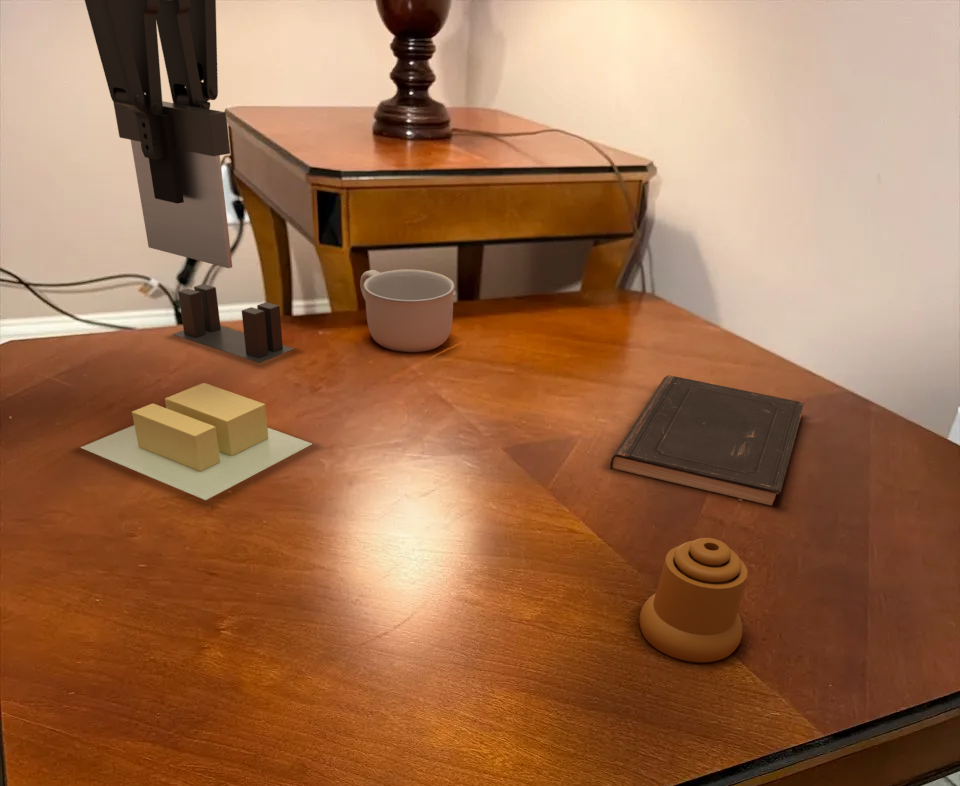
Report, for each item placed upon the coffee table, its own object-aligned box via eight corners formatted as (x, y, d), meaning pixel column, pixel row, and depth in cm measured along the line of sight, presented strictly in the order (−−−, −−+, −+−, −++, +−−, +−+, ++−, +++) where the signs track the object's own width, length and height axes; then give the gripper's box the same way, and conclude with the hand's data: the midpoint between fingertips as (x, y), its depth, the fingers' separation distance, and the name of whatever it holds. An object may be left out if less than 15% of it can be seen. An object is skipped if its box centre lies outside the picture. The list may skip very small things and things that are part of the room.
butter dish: (81, 457, 81) (79, 447, 80) (194, 409, 90) (193, 400, 90) (207, 510, 75) (205, 499, 74) (313, 452, 84) (312, 443, 84)
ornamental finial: (705, 684, 60) (617, 636, 64) (755, 638, 65) (670, 596, 69) (733, 590, 56) (636, 544, 59) (785, 548, 60) (692, 508, 64)
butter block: (170, 432, 84) (164, 398, 81) (208, 416, 87) (203, 382, 85) (231, 456, 81) (227, 421, 78) (268, 438, 84) (265, 403, 82)
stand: (173, 342, 105) (165, 291, 101) (210, 329, 109) (203, 280, 105) (260, 371, 99) (255, 318, 96) (295, 356, 104) (291, 305, 100)
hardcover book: (798, 421, 98) (804, 402, 96) (774, 513, 81) (780, 491, 79) (660, 392, 102) (663, 373, 100) (608, 474, 85) (612, 452, 83)
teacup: (468, 355, 107) (472, 288, 102) (392, 369, 102) (392, 300, 97) (410, 321, 116) (411, 258, 111) (337, 332, 111) (334, 267, 106)
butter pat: (138, 446, 81) (131, 411, 79) (158, 437, 83) (152, 402, 80) (200, 472, 78) (194, 435, 76) (220, 462, 80) (215, 426, 77)
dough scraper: (138, 248, 81) (112, 97, 73) (154, 243, 82) (130, 95, 75) (226, 271, 77) (208, 114, 69) (242, 266, 78) (226, 112, 71)
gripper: (78, -181, 55) (144, 220, 70) (243, -152, 66) (271, 192, 80) (1, -182, 58) (80, 204, 72) (171, -153, 68) (211, 179, 83)
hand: (180, 197), depth 76 cm, fingers closed on dough scraper, 2 cm apart
